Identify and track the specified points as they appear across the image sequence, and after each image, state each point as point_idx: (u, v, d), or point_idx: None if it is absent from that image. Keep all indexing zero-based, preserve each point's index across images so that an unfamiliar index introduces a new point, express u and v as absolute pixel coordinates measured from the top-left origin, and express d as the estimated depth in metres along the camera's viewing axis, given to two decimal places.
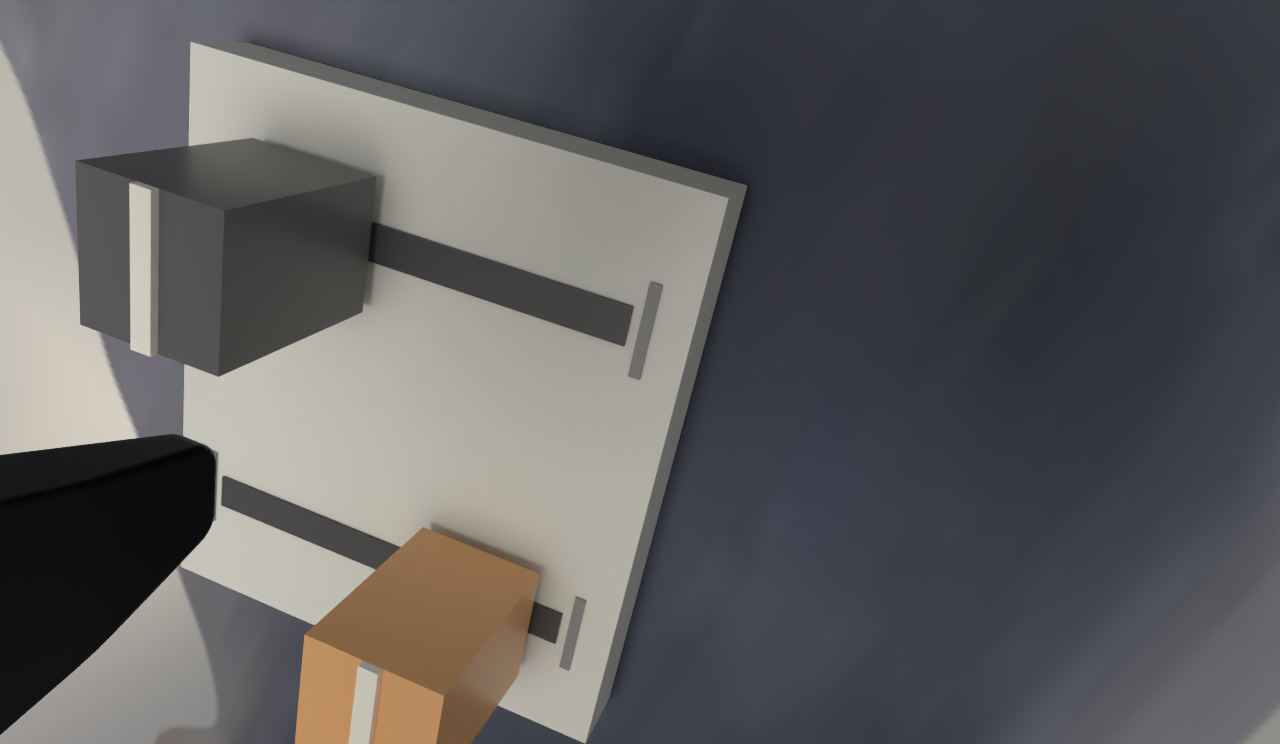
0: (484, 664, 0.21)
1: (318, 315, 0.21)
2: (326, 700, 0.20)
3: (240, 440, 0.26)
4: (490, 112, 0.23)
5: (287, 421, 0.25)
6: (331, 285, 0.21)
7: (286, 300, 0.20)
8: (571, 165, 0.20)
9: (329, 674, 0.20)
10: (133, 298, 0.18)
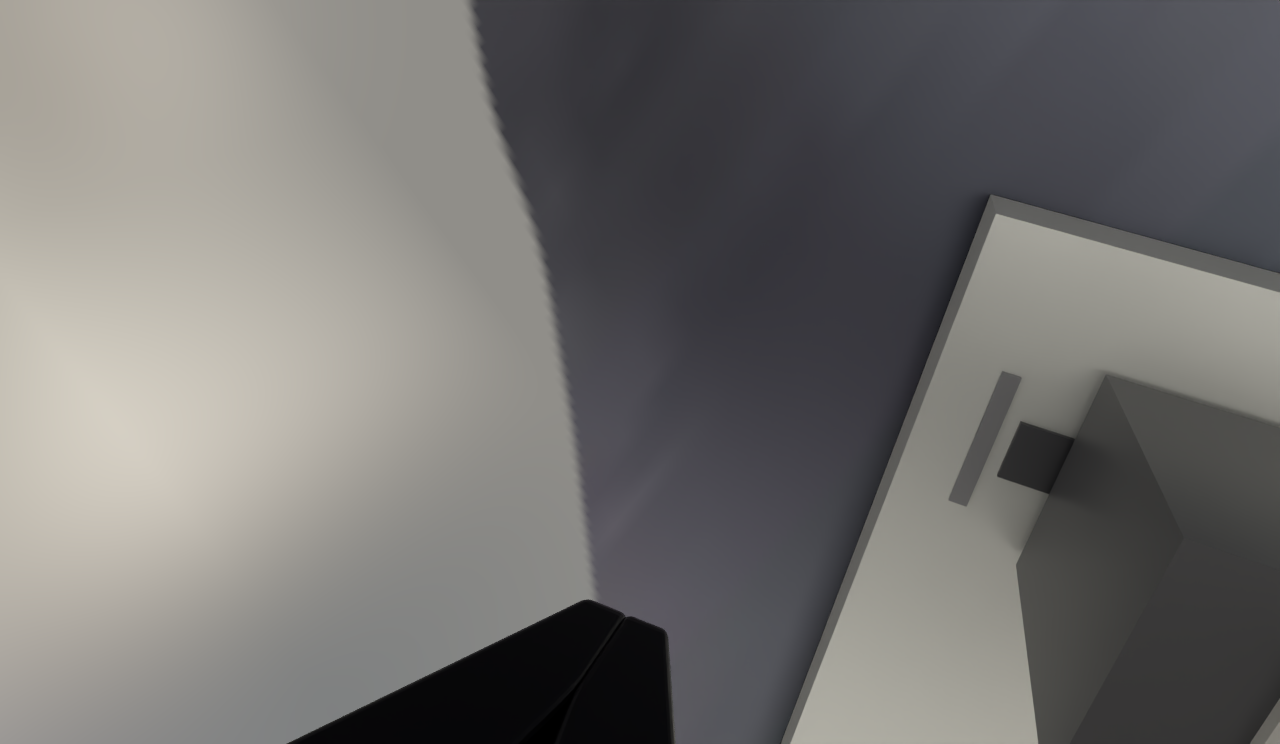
0: None
1: None
2: None
3: None
4: None
5: None
6: None
7: None
8: None
9: None
10: None
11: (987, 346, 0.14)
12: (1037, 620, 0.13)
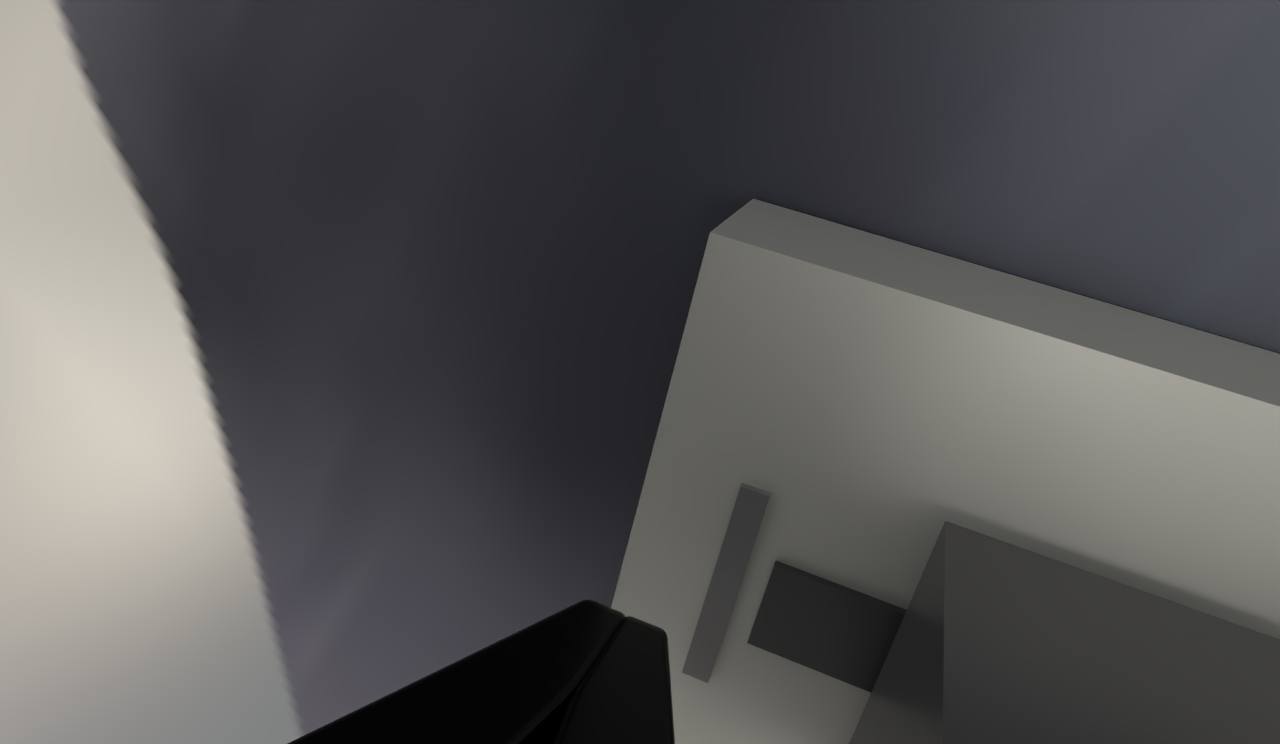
0: None
1: None
2: None
3: None
4: None
5: None
6: None
7: None
8: None
9: None
10: None
11: (717, 443, 0.09)
12: None
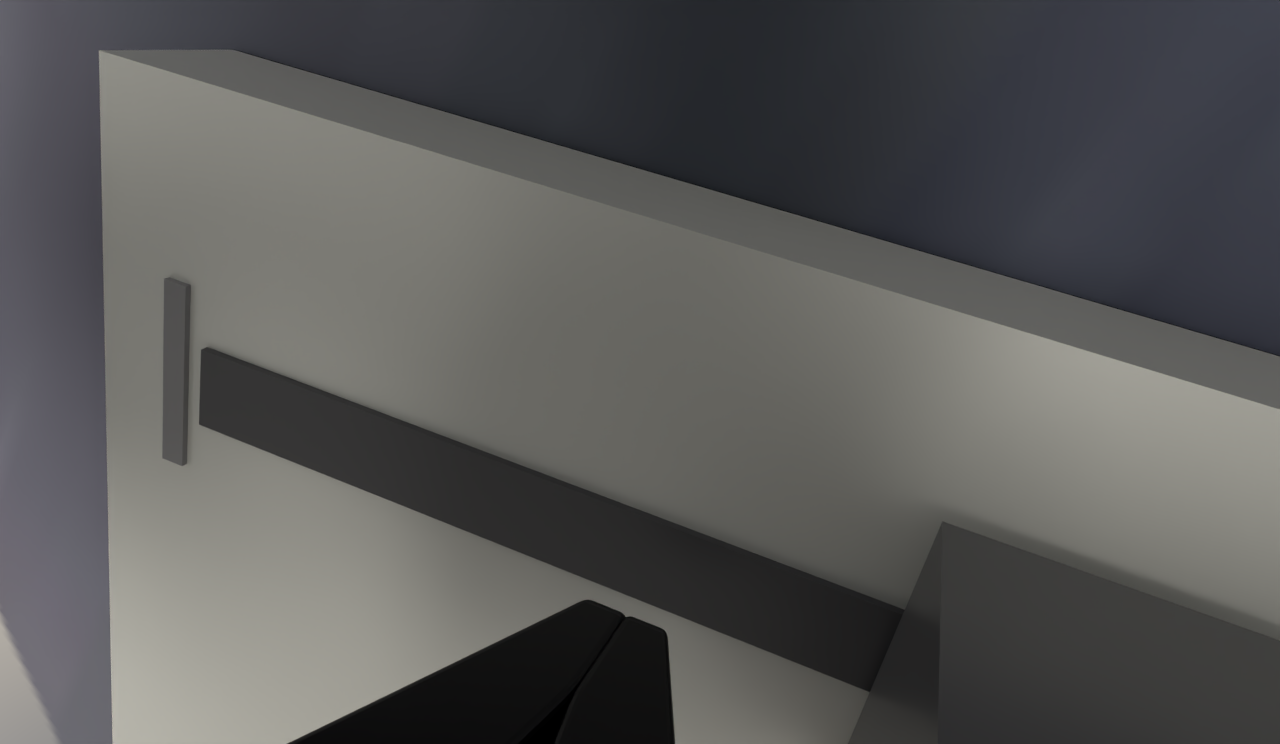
0: None
1: None
2: None
3: None
4: (781, 211, 0.10)
5: None
6: None
7: None
8: (1079, 383, 0.08)
9: None
10: None
11: (144, 243, 0.10)
12: None
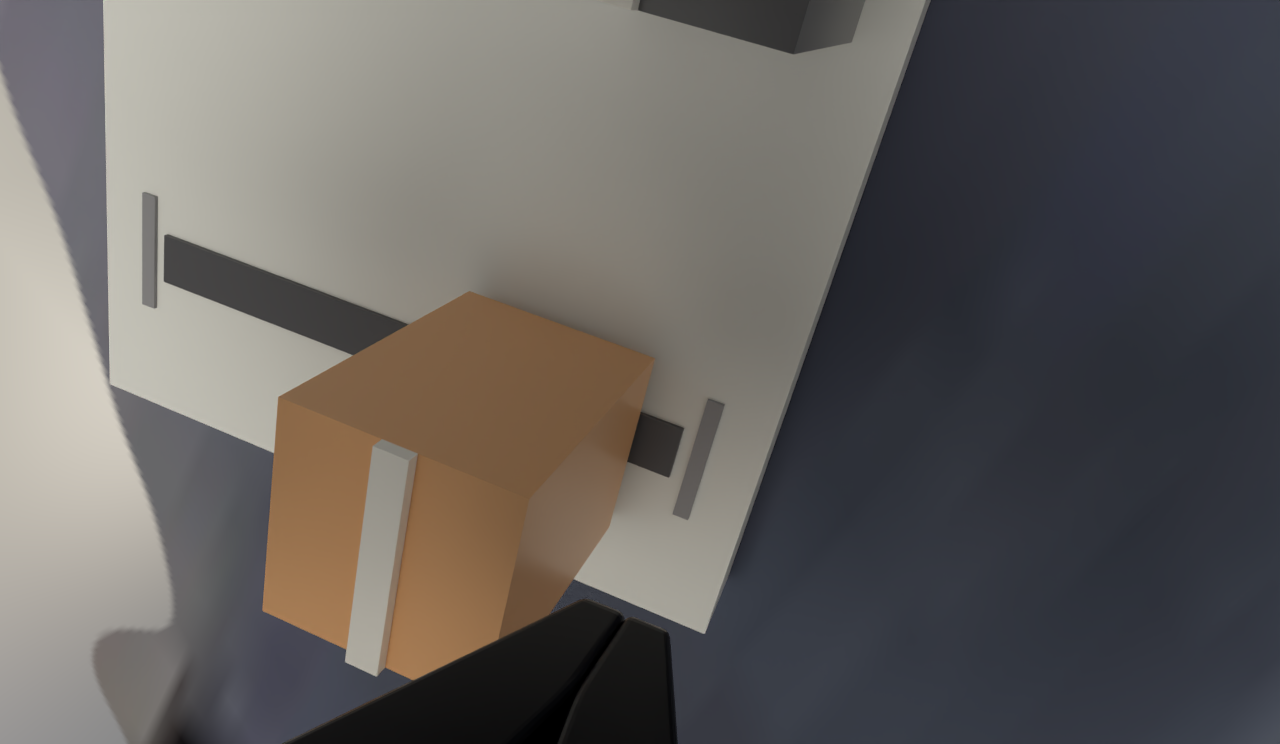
0: (581, 475, 0.13)
1: (847, 7, 0.11)
2: (317, 520, 0.12)
3: (190, 172, 0.17)
4: None
5: (260, 135, 0.16)
6: None
7: None
8: None
9: (321, 470, 0.12)
10: None
11: None
12: None
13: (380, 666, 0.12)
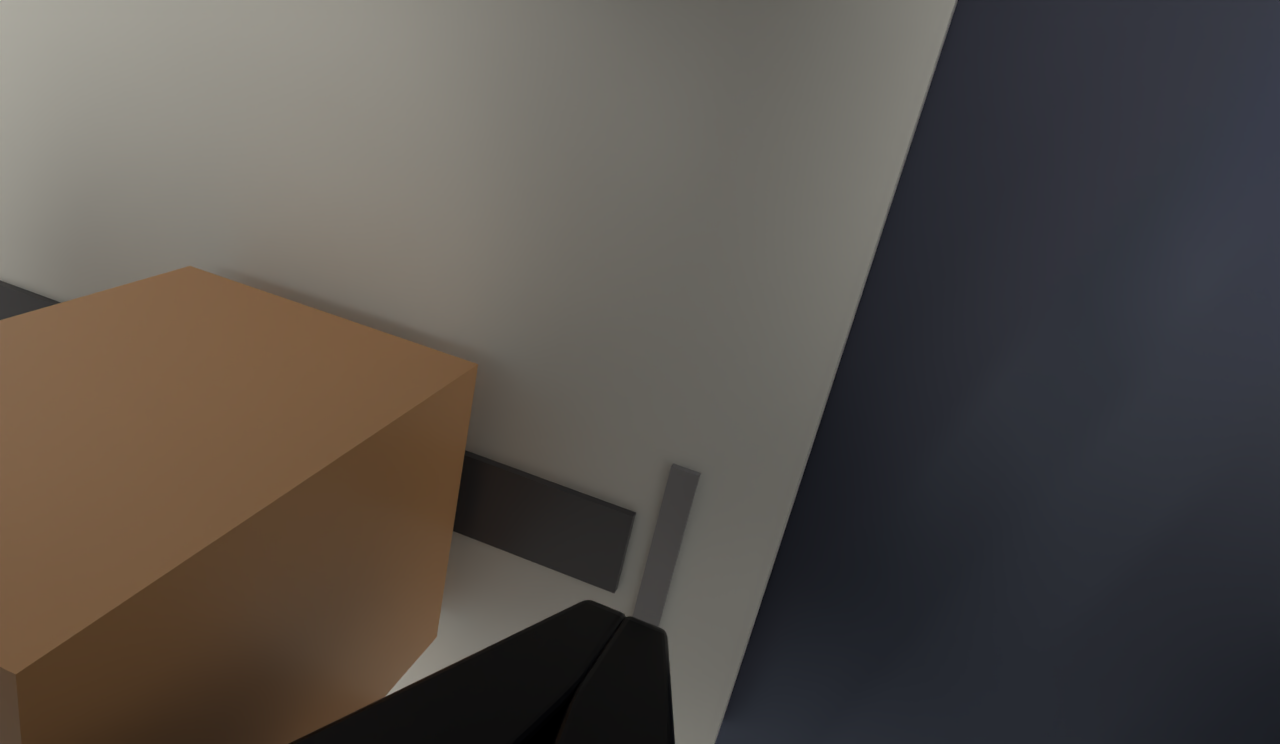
0: (282, 581, 0.07)
1: None
2: None
3: None
4: None
5: None
6: None
7: None
8: None
9: None
10: None
11: None
12: None
13: None
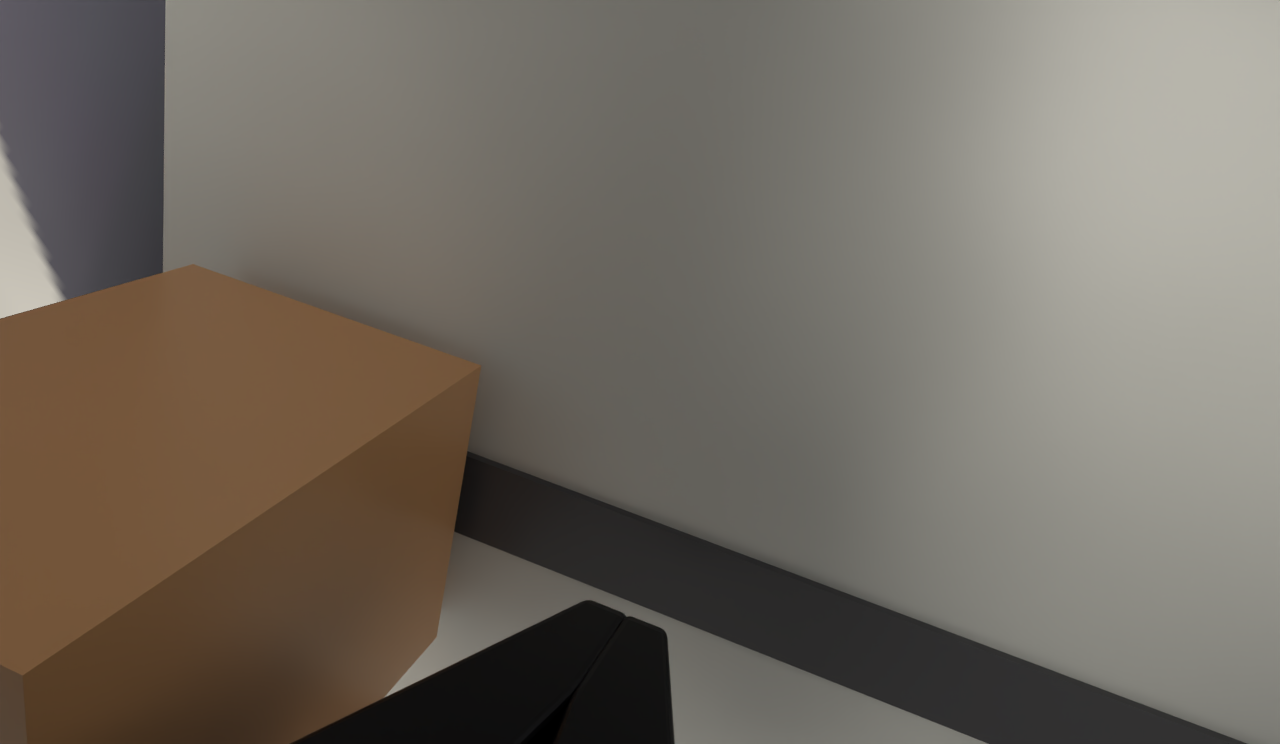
0: (286, 582, 0.07)
1: None
2: None
3: (314, 275, 0.10)
4: None
5: (450, 210, 0.09)
6: None
7: None
8: None
9: None
10: None
11: None
12: None
13: None
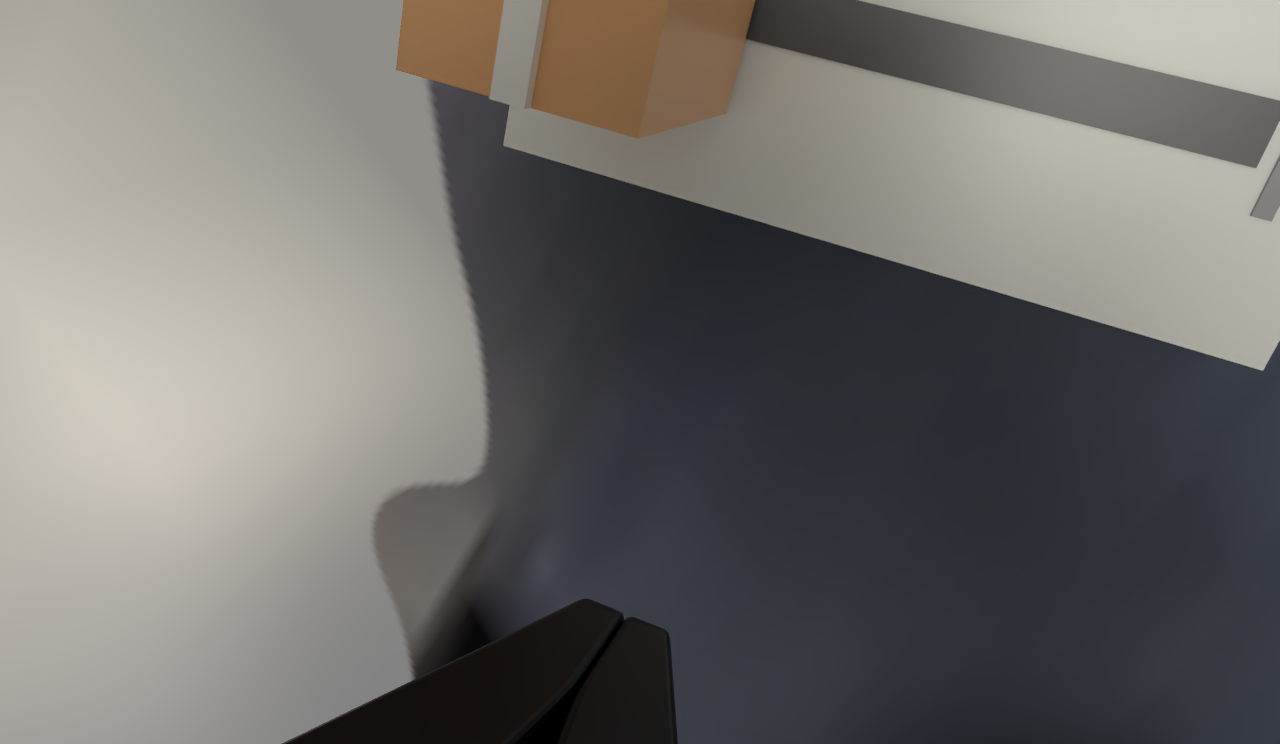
0: None
1: None
2: None
3: None
4: None
5: None
6: None
7: None
8: None
9: None
10: None
11: None
12: None
13: (527, 98, 0.12)
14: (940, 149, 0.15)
